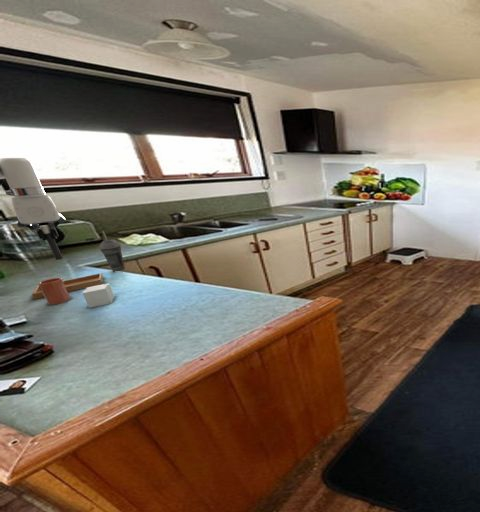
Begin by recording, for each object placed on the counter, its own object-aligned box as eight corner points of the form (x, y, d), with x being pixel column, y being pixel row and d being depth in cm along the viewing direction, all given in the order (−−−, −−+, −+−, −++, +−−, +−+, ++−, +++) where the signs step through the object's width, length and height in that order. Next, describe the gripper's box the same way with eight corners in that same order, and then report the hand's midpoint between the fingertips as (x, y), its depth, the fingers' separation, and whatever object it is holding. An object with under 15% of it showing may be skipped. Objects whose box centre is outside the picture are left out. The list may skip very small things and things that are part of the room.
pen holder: (47, 306, 100) (36, 285, 97) (49, 301, 104) (39, 280, 101) (69, 300, 104) (60, 280, 101) (71, 296, 108) (62, 276, 105)
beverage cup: (114, 273, 130) (98, 233, 123) (105, 271, 132) (89, 232, 125) (132, 268, 136) (118, 229, 129) (123, 266, 138) (109, 228, 132)
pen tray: (34, 299, 106) (31, 294, 105) (39, 291, 113) (36, 286, 112) (102, 284, 118) (100, 279, 117) (103, 277, 125) (101, 273, 124)
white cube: (114, 297, 106) (109, 283, 104) (111, 302, 101) (105, 288, 99) (93, 301, 102) (87, 287, 101) (88, 308, 98) (82, 293, 96)
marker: (55, 260, 110) (39, 226, 105) (56, 259, 111) (40, 225, 107) (62, 258, 111) (47, 225, 106) (63, 257, 113) (48, 224, 108)
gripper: (-10, 195, 95) (16, 245, 101) (59, 191, 105) (78, 236, 111) (-3, 194, 100) (21, 241, 106) (61, 190, 110) (80, 233, 116)
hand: (50, 239), depth 108 cm, fingers closed on marker, 2 cm apart
